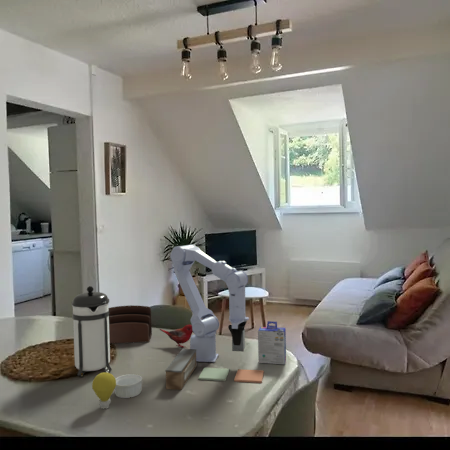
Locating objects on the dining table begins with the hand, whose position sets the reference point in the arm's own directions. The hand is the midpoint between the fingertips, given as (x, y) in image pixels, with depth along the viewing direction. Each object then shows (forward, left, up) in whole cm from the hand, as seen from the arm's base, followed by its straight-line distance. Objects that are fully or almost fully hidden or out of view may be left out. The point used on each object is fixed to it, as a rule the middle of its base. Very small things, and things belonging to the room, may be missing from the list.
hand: (237, 343), depth 154 cm
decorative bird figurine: (-28, +18, -9) cm, 34 cm away
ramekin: (-31, -26, -9) cm, 41 cm away
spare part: (0, 0, -2) cm, 2 cm away
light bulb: (-34, -36, -9) cm, 50 cm away
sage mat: (-7, -9, -8) cm, 14 cm away
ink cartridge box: (+12, +6, -9) cm, 16 cm away
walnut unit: (-17, -12, -8) cm, 23 cm away
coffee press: (-52, -9, -9) cm, 53 cm away
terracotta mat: (+5, -9, -8) cm, 13 cm away
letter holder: (-52, +25, -9) cm, 58 cm away
